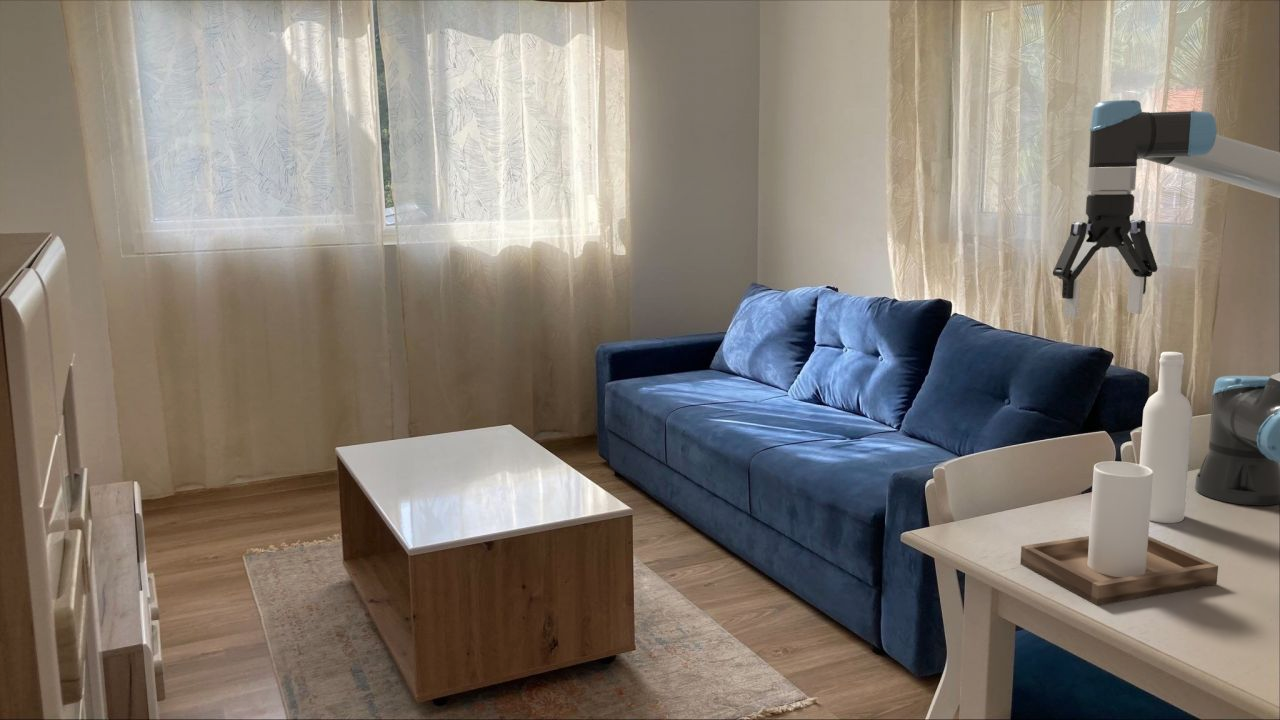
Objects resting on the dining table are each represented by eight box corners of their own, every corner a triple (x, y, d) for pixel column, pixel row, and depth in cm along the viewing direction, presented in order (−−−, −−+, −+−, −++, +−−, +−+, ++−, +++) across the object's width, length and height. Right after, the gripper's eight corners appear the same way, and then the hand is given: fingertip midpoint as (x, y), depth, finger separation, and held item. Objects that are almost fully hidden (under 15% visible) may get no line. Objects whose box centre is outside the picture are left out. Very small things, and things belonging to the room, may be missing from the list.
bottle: (1194, 522, 181) (1208, 356, 176) (1153, 525, 180) (1166, 358, 175) (1165, 507, 189) (1178, 348, 183) (1126, 510, 188) (1137, 350, 182)
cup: (1152, 579, 154) (1160, 477, 151) (1094, 576, 155) (1100, 475, 153) (1137, 559, 162) (1144, 462, 159) (1082, 556, 163) (1088, 460, 160)
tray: (1131, 546, 170) (1132, 529, 169) (1216, 584, 154) (1218, 565, 153) (1020, 563, 163) (1021, 545, 163) (1097, 605, 147) (1098, 585, 147)
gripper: (1152, 191, 183) (1143, 308, 186) (1035, 194, 175) (1029, 316, 179) (1185, 191, 176) (1176, 313, 179) (1065, 194, 168) (1058, 322, 172)
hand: (1102, 315), depth 179 cm, fingers open, 13 cm apart
